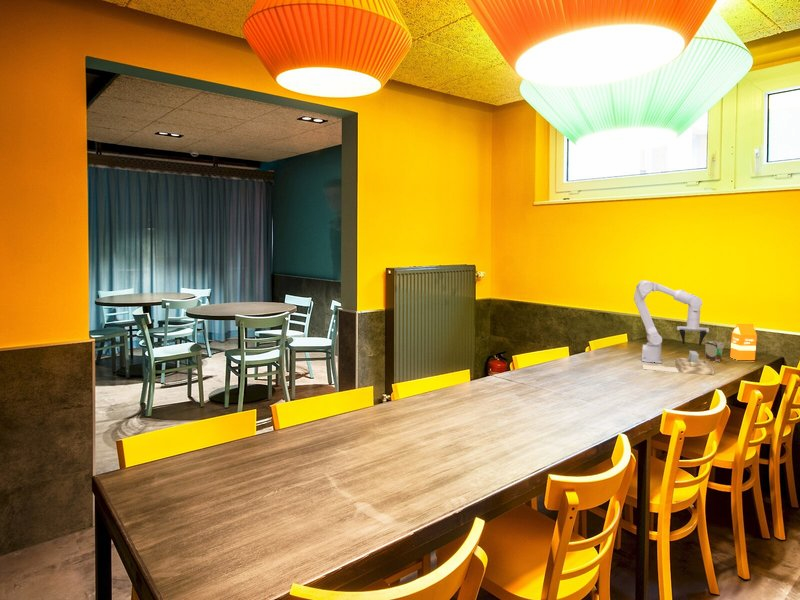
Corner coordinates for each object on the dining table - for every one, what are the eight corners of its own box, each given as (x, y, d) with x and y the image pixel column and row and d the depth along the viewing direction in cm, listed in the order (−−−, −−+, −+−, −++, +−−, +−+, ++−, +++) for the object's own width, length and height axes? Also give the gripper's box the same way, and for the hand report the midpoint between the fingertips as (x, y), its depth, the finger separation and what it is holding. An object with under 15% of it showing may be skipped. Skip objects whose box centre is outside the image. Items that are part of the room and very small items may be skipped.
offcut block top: (691, 368, 258) (691, 363, 257) (690, 366, 261) (690, 361, 261) (702, 369, 256) (702, 364, 256) (701, 367, 259) (701, 362, 259)
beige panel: (643, 369, 263) (643, 368, 263) (642, 365, 273) (642, 364, 273) (678, 372, 258) (678, 372, 257) (676, 368, 267) (676, 367, 267)
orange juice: (754, 361, 284) (757, 325, 282) (738, 361, 284) (741, 324, 282) (745, 358, 292) (748, 322, 290) (729, 358, 292) (732, 322, 290)
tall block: (690, 369, 265) (691, 354, 264) (688, 365, 273) (689, 350, 272) (697, 370, 264) (698, 354, 263) (694, 366, 272) (696, 351, 271)
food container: (728, 363, 279) (729, 344, 278) (716, 363, 279) (718, 344, 278) (715, 358, 291) (716, 340, 290) (703, 358, 291) (705, 340, 290)
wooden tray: (680, 372, 258) (680, 364, 258) (675, 363, 278) (676, 355, 278) (713, 375, 253) (714, 367, 253) (706, 365, 273) (706, 358, 273)
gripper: (678, 319, 274) (677, 344, 275) (710, 320, 268) (708, 346, 270) (677, 317, 280) (675, 342, 282) (708, 319, 275) (706, 344, 276)
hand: (691, 344), depth 276 cm, fingers open, 7 cm apart
